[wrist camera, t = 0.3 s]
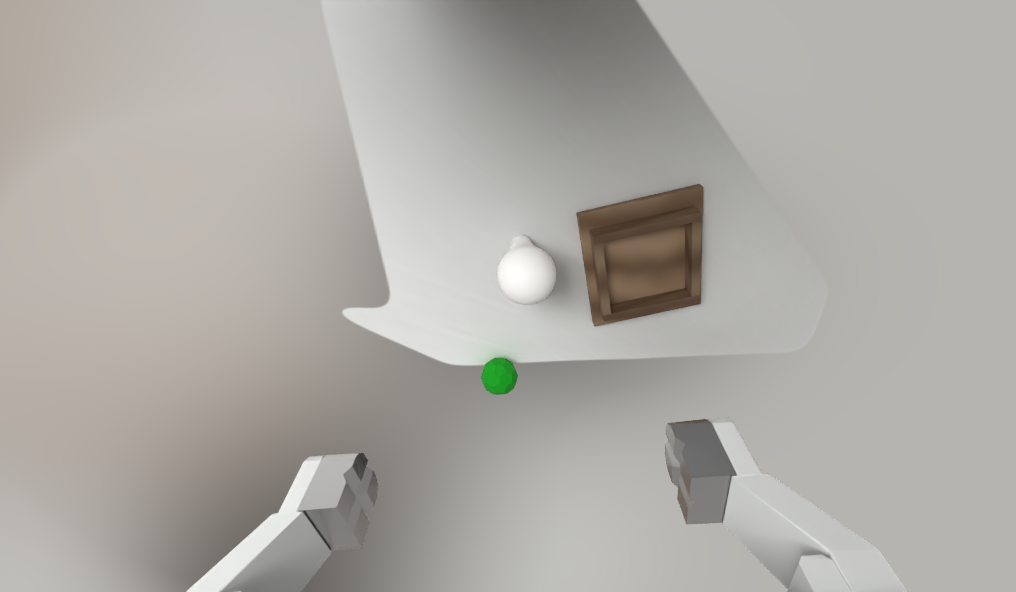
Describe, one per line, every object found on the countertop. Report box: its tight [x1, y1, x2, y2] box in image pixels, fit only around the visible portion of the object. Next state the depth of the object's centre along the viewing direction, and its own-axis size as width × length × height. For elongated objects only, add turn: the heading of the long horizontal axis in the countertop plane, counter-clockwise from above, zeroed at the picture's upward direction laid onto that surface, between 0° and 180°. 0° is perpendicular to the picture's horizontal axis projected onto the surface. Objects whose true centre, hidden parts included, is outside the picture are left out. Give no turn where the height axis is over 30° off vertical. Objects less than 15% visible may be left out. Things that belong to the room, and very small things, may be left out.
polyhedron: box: [481, 358, 518, 394], centre depth 59 cm, size 5×5×5 cm
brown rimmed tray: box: [577, 184, 703, 326], centre depth 51 cm, size 16×14×3 cm
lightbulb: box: [497, 235, 557, 305], centre depth 46 cm, size 6×6×11 cm
